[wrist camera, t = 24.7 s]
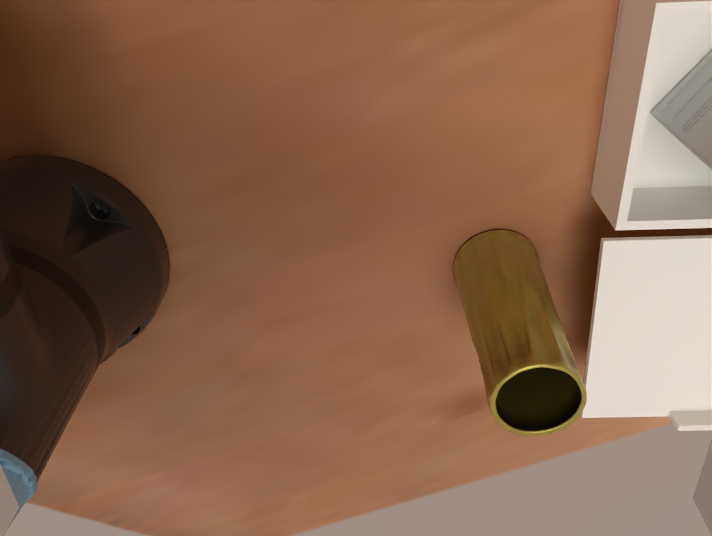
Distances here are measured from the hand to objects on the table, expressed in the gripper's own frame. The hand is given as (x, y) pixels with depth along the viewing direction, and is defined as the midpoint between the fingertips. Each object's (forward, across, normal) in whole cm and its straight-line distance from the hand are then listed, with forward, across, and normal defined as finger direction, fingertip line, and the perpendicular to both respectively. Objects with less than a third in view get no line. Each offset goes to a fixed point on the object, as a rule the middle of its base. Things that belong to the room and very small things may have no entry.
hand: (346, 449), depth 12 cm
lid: (+25, +23, -17) cm, 38 cm away
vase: (+33, +9, -16) cm, 38 cm away
